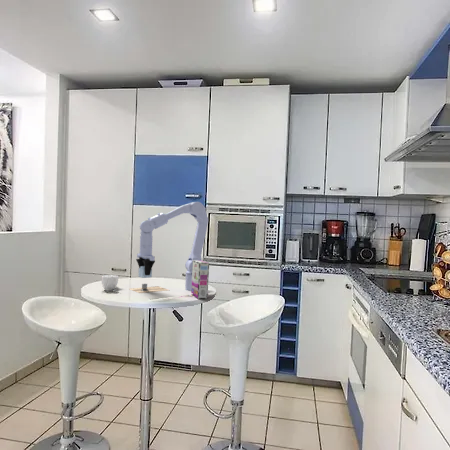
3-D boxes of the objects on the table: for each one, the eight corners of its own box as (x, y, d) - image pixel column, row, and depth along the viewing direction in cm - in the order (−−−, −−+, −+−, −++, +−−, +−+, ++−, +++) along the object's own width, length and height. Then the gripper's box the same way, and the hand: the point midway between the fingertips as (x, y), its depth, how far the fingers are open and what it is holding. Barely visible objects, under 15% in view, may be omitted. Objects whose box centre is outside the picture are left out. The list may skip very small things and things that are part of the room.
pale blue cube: (151, 277, 186) (152, 266, 186) (142, 278, 183) (143, 267, 183) (147, 276, 189) (147, 265, 189) (138, 276, 187) (138, 266, 186)
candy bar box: (208, 298, 177) (209, 262, 177) (197, 299, 175) (199, 262, 175) (200, 294, 188) (202, 259, 187) (190, 294, 186) (192, 259, 186)
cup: (98, 290, 186) (98, 276, 186) (107, 287, 196) (107, 273, 196) (114, 291, 185) (114, 277, 185) (122, 288, 195) (122, 274, 195)
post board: (169, 292, 189) (170, 290, 189) (139, 295, 179) (139, 293, 179) (158, 288, 199) (158, 286, 199) (128, 290, 189) (128, 288, 189)
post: (149, 290, 186) (149, 284, 186) (142, 291, 184) (142, 284, 184) (146, 289, 189) (146, 283, 189) (139, 290, 187) (139, 283, 187)
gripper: (131, 244, 189) (130, 272, 189) (145, 247, 178) (144, 276, 178) (145, 244, 194) (144, 271, 194) (159, 246, 182) (158, 276, 182)
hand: (145, 274), depth 186 cm, fingers closed on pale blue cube, 5 cm apart
